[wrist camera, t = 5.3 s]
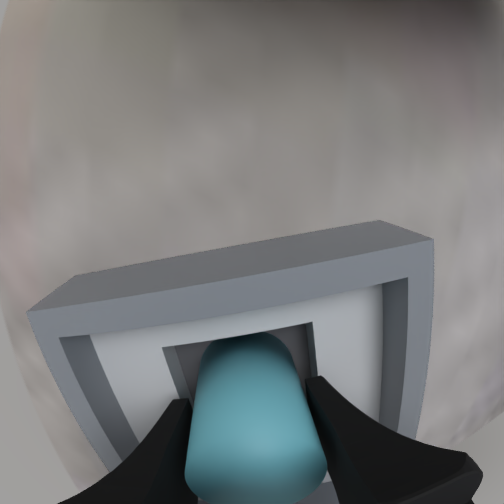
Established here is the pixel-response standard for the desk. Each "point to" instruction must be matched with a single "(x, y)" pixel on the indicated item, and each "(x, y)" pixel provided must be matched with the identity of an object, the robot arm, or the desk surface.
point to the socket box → (245, 328)
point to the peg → (252, 426)
